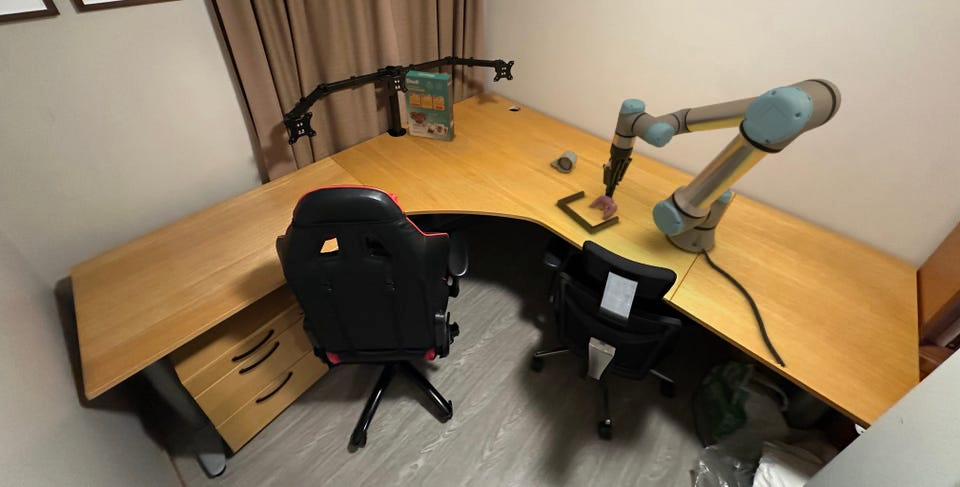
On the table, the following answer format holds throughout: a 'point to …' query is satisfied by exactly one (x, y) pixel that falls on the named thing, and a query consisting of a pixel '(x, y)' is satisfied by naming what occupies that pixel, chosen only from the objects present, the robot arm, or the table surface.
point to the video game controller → (603, 202)
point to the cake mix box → (430, 105)
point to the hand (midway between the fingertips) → (608, 197)
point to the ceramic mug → (565, 161)
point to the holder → (578, 218)
